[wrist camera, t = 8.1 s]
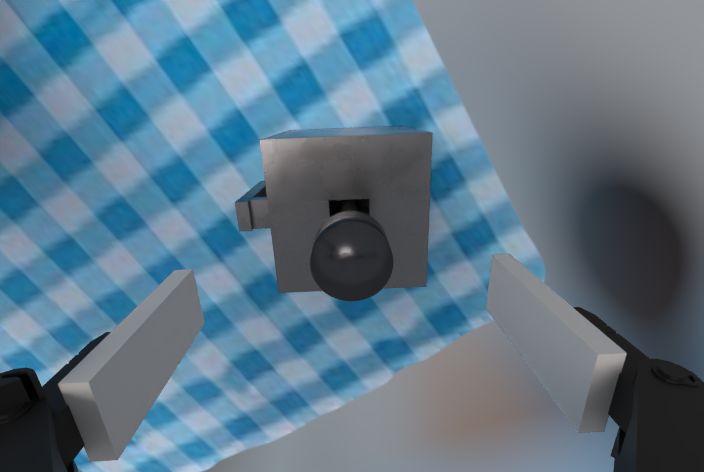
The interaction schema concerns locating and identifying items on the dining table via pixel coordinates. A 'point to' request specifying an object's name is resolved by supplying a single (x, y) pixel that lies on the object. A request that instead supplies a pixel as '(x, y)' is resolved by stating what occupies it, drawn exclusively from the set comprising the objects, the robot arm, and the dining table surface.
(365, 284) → the plunger
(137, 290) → the dining table surface
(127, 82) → the dining table surface
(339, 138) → the steel cube with knob
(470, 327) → the dining table surface
